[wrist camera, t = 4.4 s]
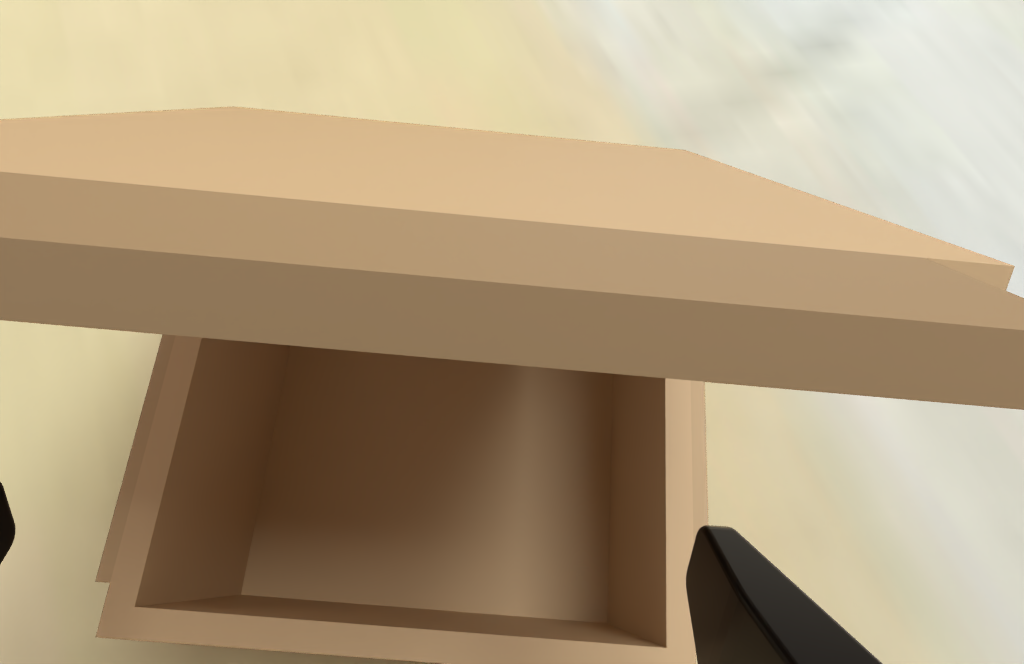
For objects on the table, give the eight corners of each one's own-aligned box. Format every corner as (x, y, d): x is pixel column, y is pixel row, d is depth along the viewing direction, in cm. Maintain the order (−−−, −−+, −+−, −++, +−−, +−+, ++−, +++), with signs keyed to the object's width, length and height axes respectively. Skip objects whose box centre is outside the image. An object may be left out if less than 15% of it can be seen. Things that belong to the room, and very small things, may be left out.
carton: (635, 645, 20) (715, 683, 13) (209, 612, 20) (74, 635, 13) (639, 283, 24) (701, 176, 17) (286, 251, 24) (214, 129, 17)
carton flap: (1220, 426, 4) (1256, 352, 4) (-756, 254, 4) (-807, 164, 4) (681, 169, 17) (684, 149, 17) (234, 126, 17) (233, 106, 17)
